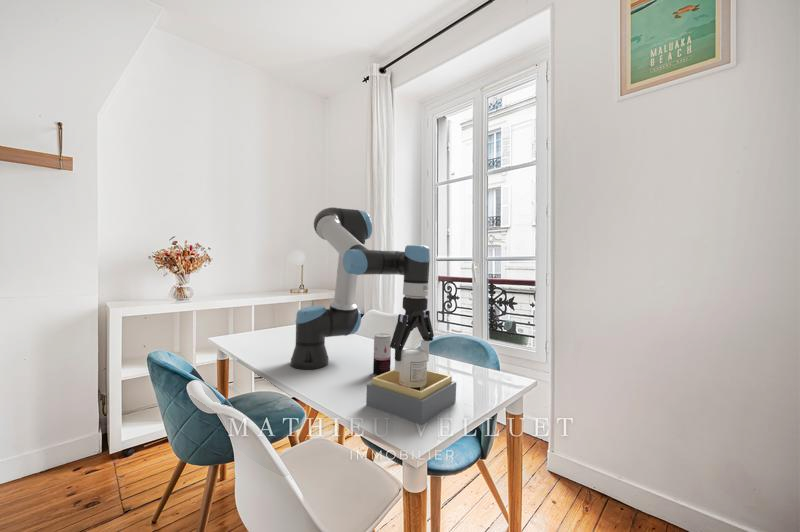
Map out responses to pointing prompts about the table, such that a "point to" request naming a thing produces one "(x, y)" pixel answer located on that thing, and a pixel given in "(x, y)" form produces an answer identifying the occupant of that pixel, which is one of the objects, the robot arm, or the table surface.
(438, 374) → the inner crate
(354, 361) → the table surface
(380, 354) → the beverage can
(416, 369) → the supplement can
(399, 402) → the outer crate
